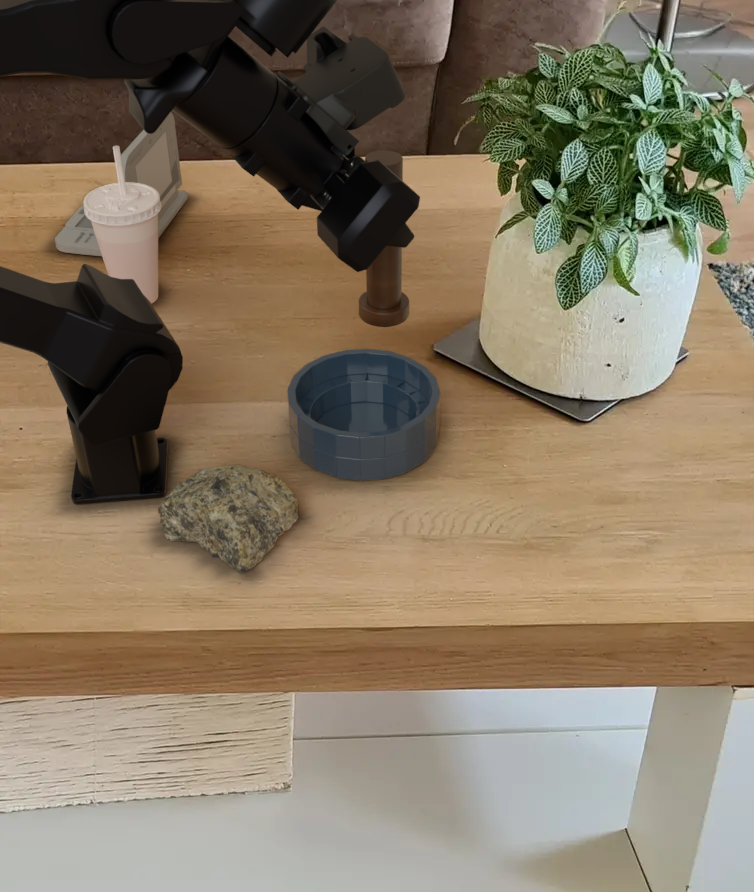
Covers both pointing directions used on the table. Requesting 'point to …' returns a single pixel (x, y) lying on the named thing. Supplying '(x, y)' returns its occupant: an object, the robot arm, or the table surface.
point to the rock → (230, 513)
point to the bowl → (364, 414)
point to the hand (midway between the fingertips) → (400, 232)
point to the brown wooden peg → (385, 270)
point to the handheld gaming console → (142, 163)
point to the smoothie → (127, 229)
